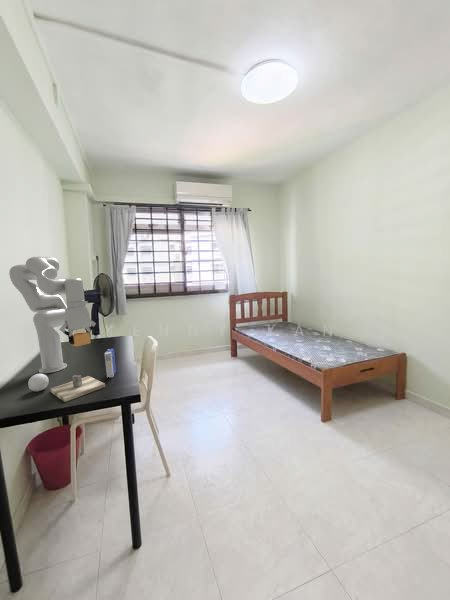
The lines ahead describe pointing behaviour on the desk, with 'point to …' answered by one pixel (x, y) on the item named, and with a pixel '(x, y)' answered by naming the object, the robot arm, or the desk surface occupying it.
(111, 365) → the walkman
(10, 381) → the desk surface
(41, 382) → the white egg
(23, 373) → the desk surface
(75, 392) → the board
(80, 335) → the orange block
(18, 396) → the desk surface
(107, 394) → the desk surface
